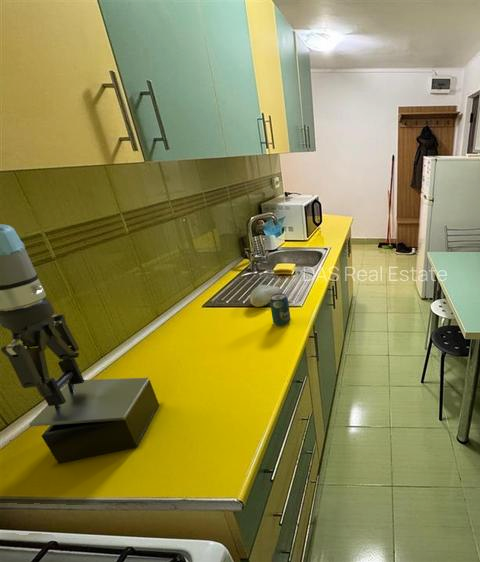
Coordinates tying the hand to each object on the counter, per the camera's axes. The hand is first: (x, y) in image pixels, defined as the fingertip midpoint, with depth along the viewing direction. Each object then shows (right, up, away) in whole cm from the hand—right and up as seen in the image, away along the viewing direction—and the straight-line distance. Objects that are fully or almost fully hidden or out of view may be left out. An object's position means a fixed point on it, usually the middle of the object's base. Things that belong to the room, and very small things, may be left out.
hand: (67, 392), depth 70 cm
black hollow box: (+5, -12, +7) cm, 15 cm away
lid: (+4, -3, +2) cm, 6 cm away
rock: (+19, +16, +73) cm, 77 cm away
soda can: (+33, +9, +55) cm, 64 cm away
